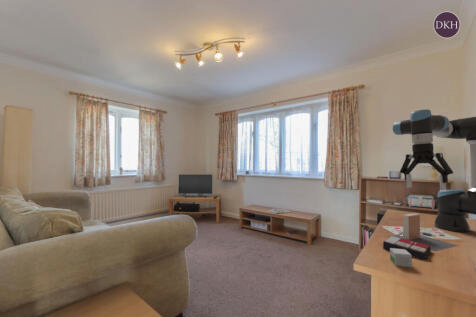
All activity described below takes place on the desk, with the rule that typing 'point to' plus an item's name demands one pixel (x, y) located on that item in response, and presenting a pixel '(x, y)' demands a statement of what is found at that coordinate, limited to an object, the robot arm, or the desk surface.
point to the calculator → (407, 247)
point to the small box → (400, 257)
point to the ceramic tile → (411, 226)
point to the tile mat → (429, 242)
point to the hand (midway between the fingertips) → (425, 188)
